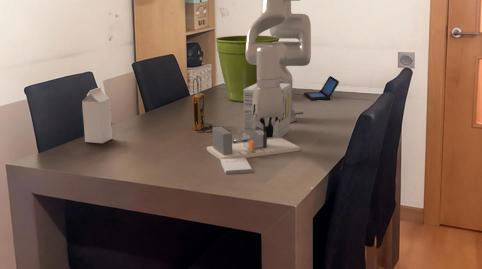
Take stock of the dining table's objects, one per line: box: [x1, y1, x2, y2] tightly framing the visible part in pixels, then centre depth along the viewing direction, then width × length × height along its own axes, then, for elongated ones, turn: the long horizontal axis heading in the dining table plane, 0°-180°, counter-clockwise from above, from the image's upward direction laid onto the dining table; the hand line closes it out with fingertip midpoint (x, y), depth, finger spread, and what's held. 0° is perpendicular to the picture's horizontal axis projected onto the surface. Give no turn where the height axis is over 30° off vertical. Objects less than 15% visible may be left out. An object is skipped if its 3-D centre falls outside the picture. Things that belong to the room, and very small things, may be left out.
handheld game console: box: [303, 75, 340, 102], centre depth 300 cm, size 16×13×9 cm
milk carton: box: [81, 86, 113, 144], centre depth 226 cm, size 7×7×19 cm
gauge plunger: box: [232, 127, 267, 150], centre depth 210 cm, size 10×10×6 cm
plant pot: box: [215, 35, 281, 103], centre depth 297 cm, size 30×30×29 cm
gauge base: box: [206, 126, 301, 161], centre depth 212 cm, size 28×14×8 cm, turn 113°
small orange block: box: [249, 140, 255, 152], centre depth 206 cm, size 1×3×3 cm, turn 23°
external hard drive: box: [220, 158, 254, 175], centre depth 196 cm, size 2×8×12 cm
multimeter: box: [191, 75, 214, 134], centre depth 242 cm, size 15×10×20 cm
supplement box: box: [243, 83, 291, 139], centre depth 232 cm, size 17×13×18 cm
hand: (268, 136), depth 214 cm, fingers closed
